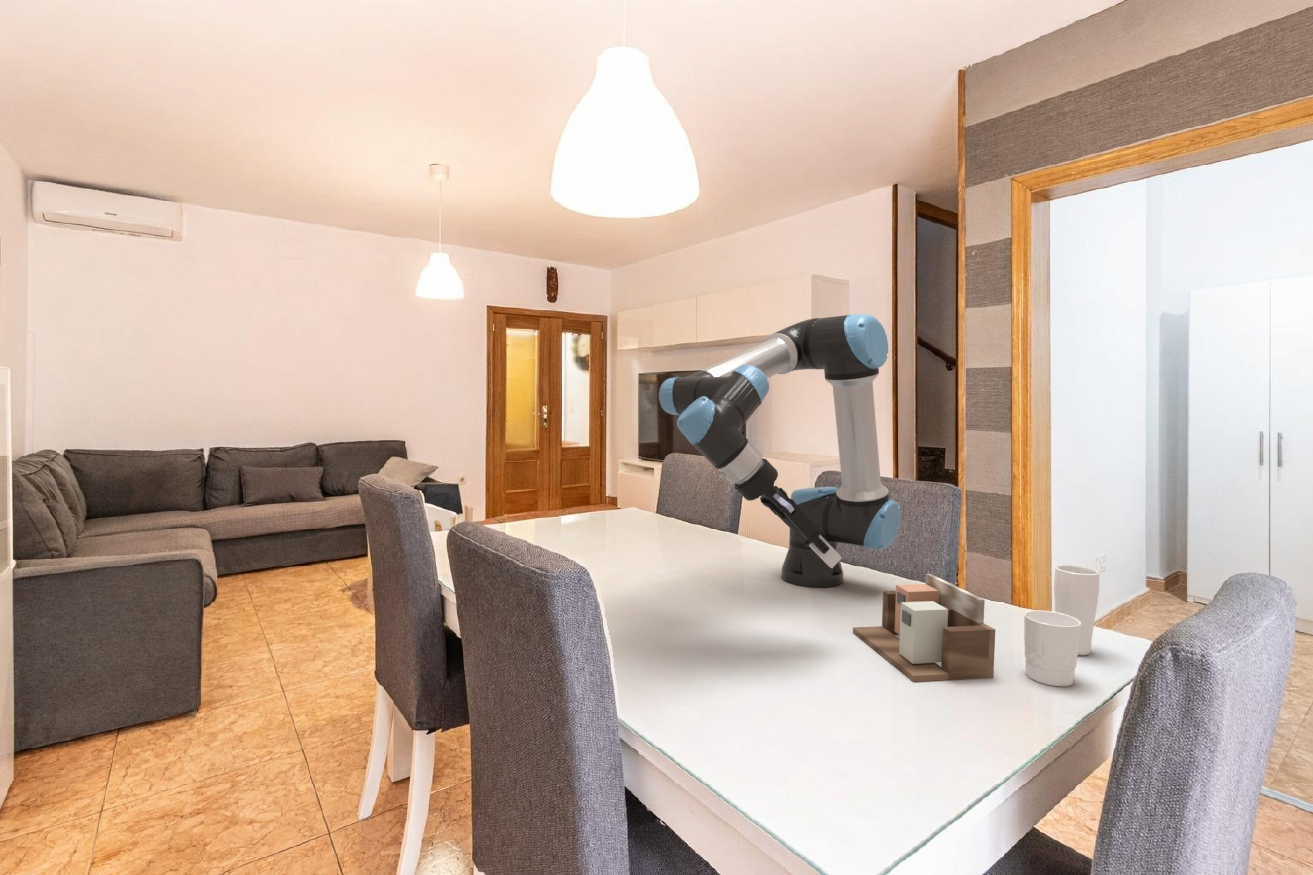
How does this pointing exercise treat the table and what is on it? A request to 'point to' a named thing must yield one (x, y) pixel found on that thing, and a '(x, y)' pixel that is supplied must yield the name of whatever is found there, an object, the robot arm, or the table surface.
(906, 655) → the cream rectangular block
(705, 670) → the table surface
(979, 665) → the wooden rack
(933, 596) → the peach rectangular block
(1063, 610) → the drinking glass
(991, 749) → the table surface
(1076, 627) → the white cup
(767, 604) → the table surface
